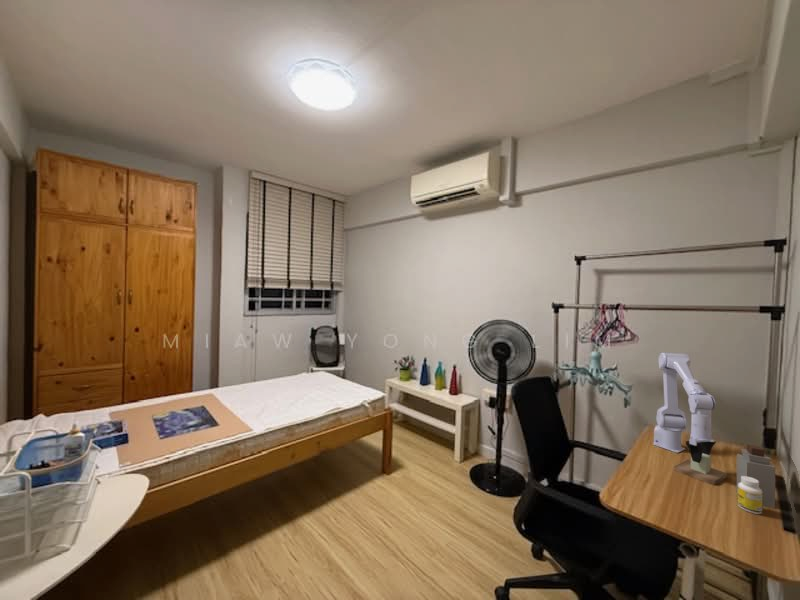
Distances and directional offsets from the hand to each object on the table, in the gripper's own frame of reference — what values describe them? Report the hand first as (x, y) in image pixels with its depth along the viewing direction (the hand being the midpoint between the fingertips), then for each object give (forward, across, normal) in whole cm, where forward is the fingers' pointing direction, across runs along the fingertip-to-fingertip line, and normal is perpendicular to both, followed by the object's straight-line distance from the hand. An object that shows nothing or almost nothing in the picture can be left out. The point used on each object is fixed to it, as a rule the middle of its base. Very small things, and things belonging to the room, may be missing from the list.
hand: (700, 459), depth 126 cm
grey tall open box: (+6, -5, -16) cm, 18 cm away
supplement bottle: (+6, -14, -17) cm, 23 cm away
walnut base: (+6, 0, 0) cm, 6 cm away
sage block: (+4, 0, 0) cm, 4 cm away
